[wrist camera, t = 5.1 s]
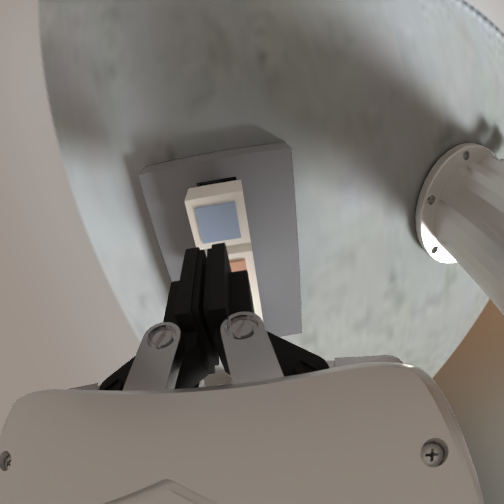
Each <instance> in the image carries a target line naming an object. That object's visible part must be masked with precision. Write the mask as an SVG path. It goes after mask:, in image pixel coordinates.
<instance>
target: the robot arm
mask: <svg viewBox="0 0 504 504" xmlns="http://www.w3.org/2000/svg"><path fill="white" fill-rule="evenodd" d="M415 219H416V232H417V237H418V239H419V242H420V244H421V246H422V247H423V249H424V250H425V251H426V252H427V253H428V254H429V255H430V256H431V257H432V258H433V259H434V260H436V261H438V262H442V263H455V262H458V263H459V264H460V265H461V266H462V267H463V269H464V270H465V271H466V272H467V273H468V274H469V275H470V276H471V277H472V278H473V279H474V281H475V282H476V283H477V284H478V285H479V286H480V287H481V288H482V290H483V291H484V292H485V293H486V294H487V295H488V297H489V298H490V299H491V300H492V301H493V303H494V304H495V305H496V306H497V308H498V309H499V310H500V311H501V312H502V314H503V315H504V159H500V160H499V159H498V158H497V156H496V155H495V154H494V153H493V152H492V151H491V150H490V149H488V148H486V147H484V146H482V145H479V144H476V143H464V144H460V145H457V146H455V147H454V148H452V149H450V150H448V151H447V152H446V153H445V154H444V155H443V156H442V157H441V158H440V159H439V160H438V161H437V162H436V164H435V165H434V166H433V167H432V169H431V171H430V172H429V174H428V176H427V178H426V179H425V182H424V184H423V187H422V189H421V191H420V195H419V199H418V202H417V208H416V216H415ZM219 357H220V360H221V362H222V364H223V366H224V369H225V372H227V373H228V374H230V375H231V379H232V383H233V384H229V385H220V386H210V387H204V383H205V382H204V378H205V377H206V376H207V375H208V374H213V373H215V365H219ZM422 446H423V447H422ZM0 504H484V501H483V497H482V493H481V489H480V485H479V481H478V477H477V474H476V471H475V468H474V465H473V462H472V459H471V456H470V453H469V450H468V448H467V445H466V442H465V440H464V437H463V434H462V432H461V429H460V427H459V425H458V423H457V420H456V418H455V416H454V414H453V412H452V410H451V408H450V406H449V404H448V402H447V400H446V399H445V397H444V395H443V393H442V392H441V390H440V389H439V387H438V385H437V384H436V383H435V381H434V380H433V379H432V378H431V377H430V376H429V375H428V374H427V373H426V372H425V371H423V370H422V369H420V368H418V367H416V366H413V365H409V364H404V363H403V362H402V361H401V360H400V359H399V358H397V357H394V356H391V355H380V356H365V357H345V358H335V361H325V360H324V359H323V358H321V357H319V356H317V355H315V354H313V353H311V352H309V351H307V350H305V349H303V348H300V347H298V346H296V345H294V344H292V343H290V342H288V341H286V340H284V339H282V338H280V337H278V336H276V335H274V334H272V333H270V332H268V331H266V329H265V326H264V323H263V321H262V319H261V318H260V317H259V316H258V315H257V314H255V313H254V307H253V299H252V293H251V287H250V282H249V276H248V271H247V270H242V271H236V272H232V271H231V267H230V262H229V258H228V253H227V249H226V245H225V242H224V243H218V244H213V245H212V248H209V249H207V257H206V253H205V250H204V249H203V250H200V248H199V247H195V248H189V249H186V250H185V255H184V260H183V265H182V270H181V276H180V280H179V281H173V282H172V283H171V287H170V291H169V296H168V301H167V306H166V311H165V316H164V321H163V322H162V323H159V324H156V325H154V326H152V327H151V328H149V329H148V330H147V331H146V333H145V335H144V336H143V339H142V341H141V344H140V346H139V349H138V351H137V354H136V356H135V357H134V358H132V359H131V360H130V361H129V362H127V363H126V364H125V365H123V366H122V367H121V368H120V369H118V370H117V371H116V372H114V373H113V374H112V375H111V376H109V377H108V378H107V379H106V380H105V381H104V382H103V383H102V384H101V385H99V384H98V383H96V384H91V385H86V386H81V387H76V388H71V389H51V390H42V391H36V392H32V393H30V394H27V395H25V396H23V397H21V398H20V399H18V400H17V401H16V402H15V403H14V404H13V406H12V408H11V410H10V412H9V414H8V417H7V419H6V421H5V424H4V427H3V430H2V433H1V436H0Z"/></svg>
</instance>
